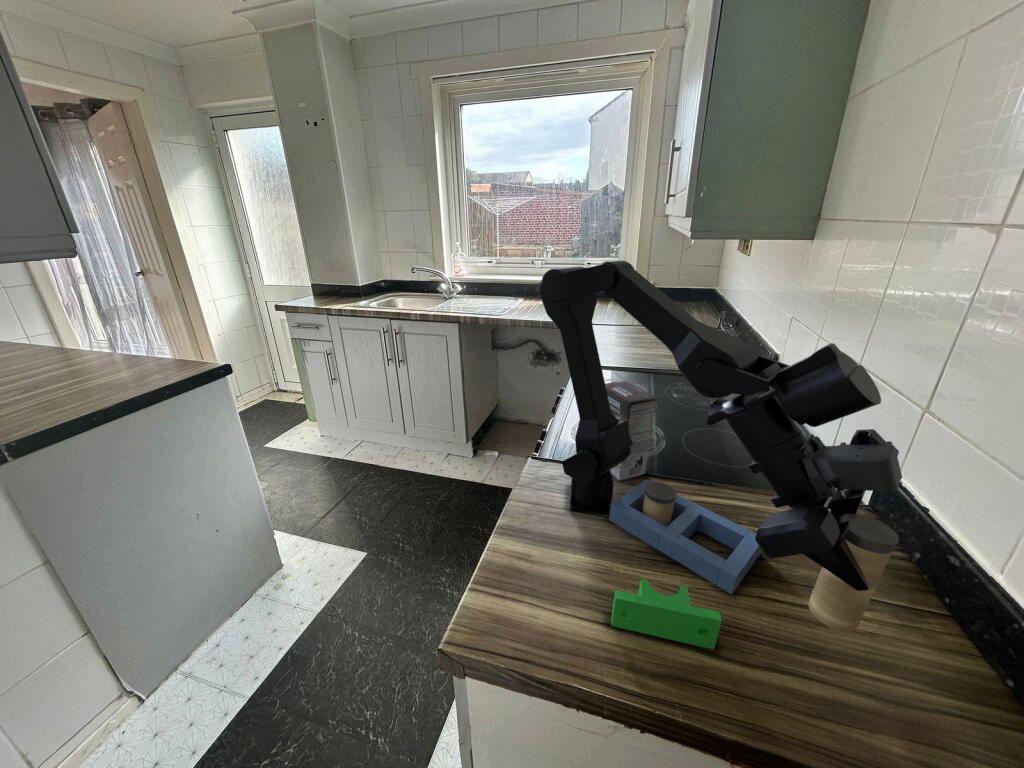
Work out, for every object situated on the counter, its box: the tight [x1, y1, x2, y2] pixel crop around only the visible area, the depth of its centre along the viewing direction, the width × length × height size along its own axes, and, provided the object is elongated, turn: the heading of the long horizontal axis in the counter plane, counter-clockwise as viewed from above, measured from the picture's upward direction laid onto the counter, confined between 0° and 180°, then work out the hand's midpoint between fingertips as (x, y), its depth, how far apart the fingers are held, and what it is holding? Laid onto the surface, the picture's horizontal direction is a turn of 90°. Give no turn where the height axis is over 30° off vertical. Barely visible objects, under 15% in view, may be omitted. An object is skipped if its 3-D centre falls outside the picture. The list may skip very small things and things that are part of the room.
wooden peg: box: [808, 513, 899, 633], centre depth 42 cm, size 4×4×12 cm
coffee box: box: [605, 380, 658, 482], centre depth 76 cm, size 9×6×16 cm
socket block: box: [608, 479, 762, 595], centre depth 61 cm, size 19×10×3 cm, turn 42°
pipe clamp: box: [610, 577, 723, 650], centre depth 47 cm, size 11×4×5 cm, turn 76°
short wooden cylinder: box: [641, 481, 677, 527], centre depth 63 cm, size 4×4×6 cm
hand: (868, 577), depth 41 cm, fingers closed on wooden peg, 4 cm apart
